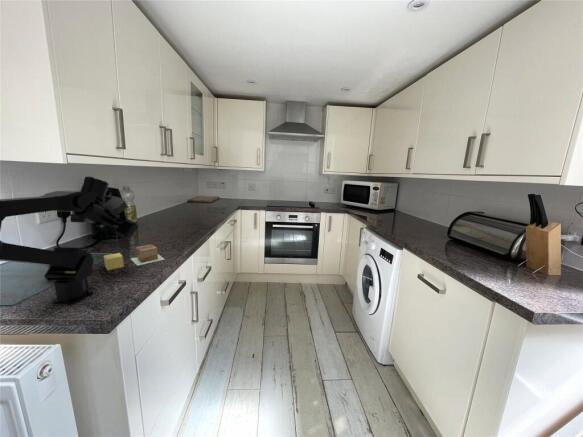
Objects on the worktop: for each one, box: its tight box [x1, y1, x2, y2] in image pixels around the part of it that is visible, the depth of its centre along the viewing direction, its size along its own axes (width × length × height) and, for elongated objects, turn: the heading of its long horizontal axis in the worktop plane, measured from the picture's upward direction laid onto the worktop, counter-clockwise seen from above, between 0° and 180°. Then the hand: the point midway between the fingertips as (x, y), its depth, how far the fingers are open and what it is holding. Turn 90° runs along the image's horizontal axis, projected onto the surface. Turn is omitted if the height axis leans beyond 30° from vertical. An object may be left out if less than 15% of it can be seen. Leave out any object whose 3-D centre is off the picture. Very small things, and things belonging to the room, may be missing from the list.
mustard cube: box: [103, 252, 125, 271], centre depth 89 cm, size 5×5×5 cm
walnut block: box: [136, 244, 158, 263], centre depth 97 cm, size 6×6×5 cm
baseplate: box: [130, 254, 165, 266], centre depth 98 cm, size 10×10×1 cm
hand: (125, 229), depth 90 cm, fingers open, 9 cm apart
